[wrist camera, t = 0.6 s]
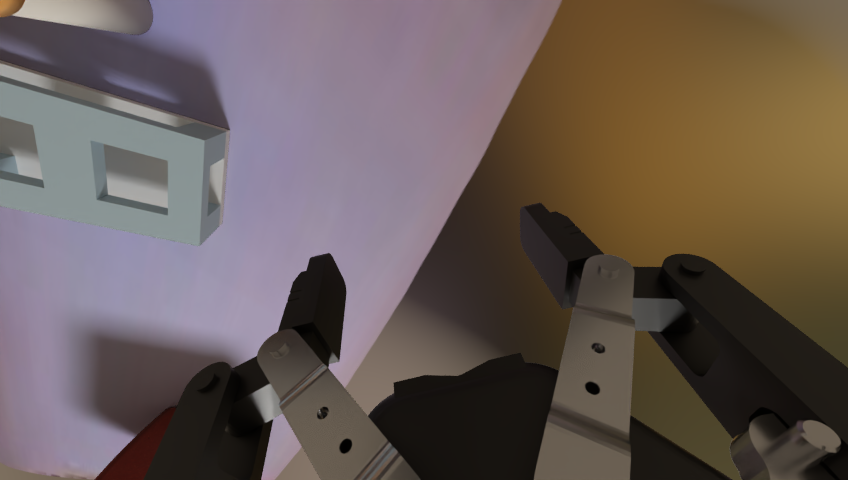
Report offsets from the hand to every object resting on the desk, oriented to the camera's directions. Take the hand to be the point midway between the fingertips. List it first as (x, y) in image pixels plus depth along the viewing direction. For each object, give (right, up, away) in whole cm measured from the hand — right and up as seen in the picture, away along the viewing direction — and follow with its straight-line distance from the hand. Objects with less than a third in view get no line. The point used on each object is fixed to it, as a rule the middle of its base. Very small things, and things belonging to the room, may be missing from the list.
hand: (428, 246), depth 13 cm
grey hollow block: (-34, +10, +21) cm, 41 cm away
